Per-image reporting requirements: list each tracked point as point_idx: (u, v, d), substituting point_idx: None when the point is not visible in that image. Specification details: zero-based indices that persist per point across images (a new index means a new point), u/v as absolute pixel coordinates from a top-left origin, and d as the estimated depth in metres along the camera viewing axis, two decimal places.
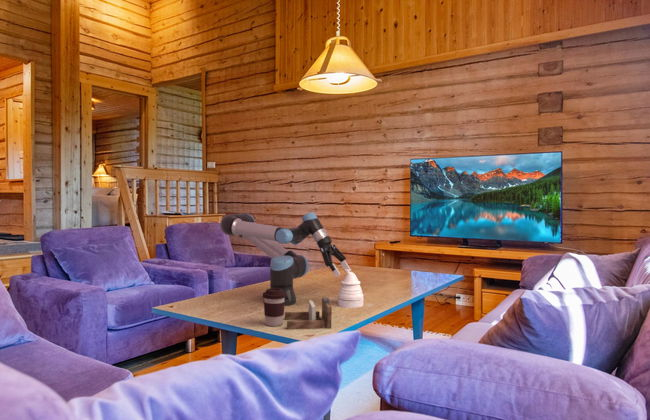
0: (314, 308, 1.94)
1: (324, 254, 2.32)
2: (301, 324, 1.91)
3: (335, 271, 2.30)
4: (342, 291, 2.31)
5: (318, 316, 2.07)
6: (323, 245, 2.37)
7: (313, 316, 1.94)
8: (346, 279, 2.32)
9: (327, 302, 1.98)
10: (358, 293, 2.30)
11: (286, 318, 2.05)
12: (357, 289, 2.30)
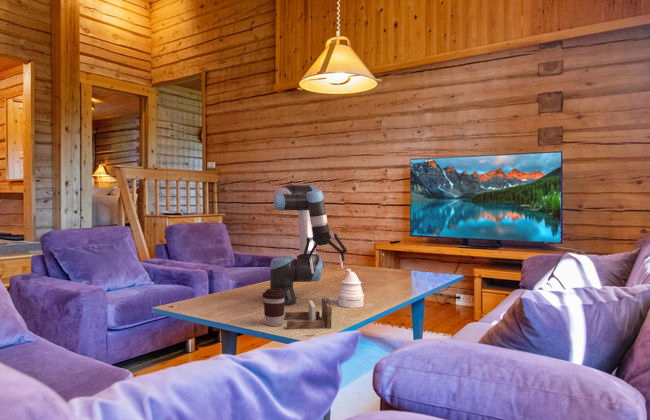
0: (314, 308, 1.94)
1: (305, 246, 2.09)
2: (301, 324, 1.91)
3: (311, 267, 2.10)
4: (342, 290, 2.31)
5: (318, 316, 2.07)
6: (313, 234, 2.08)
7: (313, 316, 1.94)
8: (347, 279, 2.31)
9: (327, 302, 1.98)
10: (358, 293, 2.29)
11: (286, 318, 2.05)
12: (357, 289, 2.30)
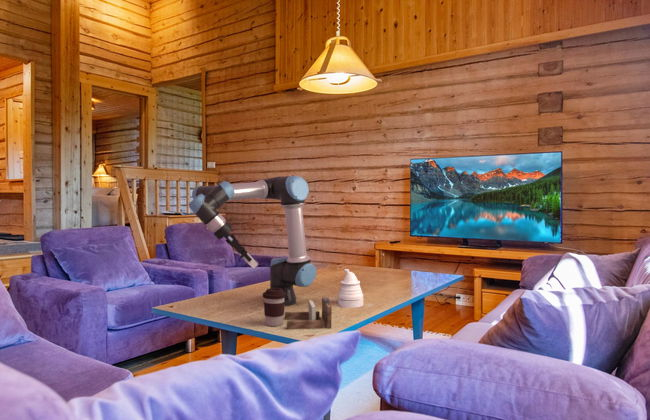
0: (314, 308, 1.94)
1: None
2: (301, 324, 1.91)
3: None
4: (341, 291, 2.31)
5: (318, 316, 2.07)
6: None
7: (313, 316, 1.94)
8: (345, 279, 2.31)
9: (327, 302, 1.98)
10: (357, 293, 2.29)
11: (286, 318, 2.05)
12: (356, 289, 2.30)
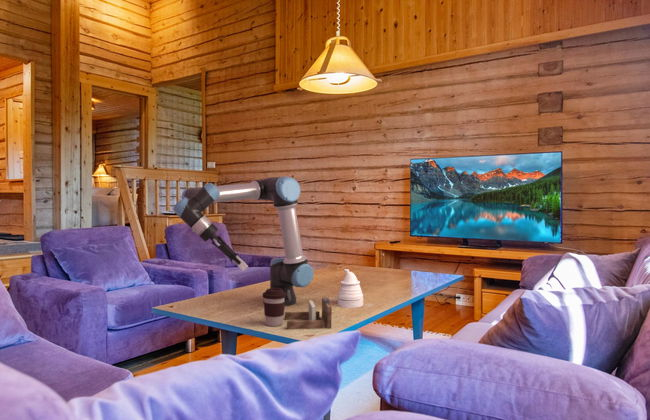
0: (314, 308, 1.94)
1: None
2: (301, 324, 1.91)
3: None
4: (341, 291, 2.31)
5: (318, 316, 2.07)
6: None
7: (313, 316, 1.94)
8: (345, 279, 2.32)
9: (327, 302, 1.98)
10: (357, 293, 2.29)
11: (286, 318, 2.05)
12: (356, 289, 2.30)
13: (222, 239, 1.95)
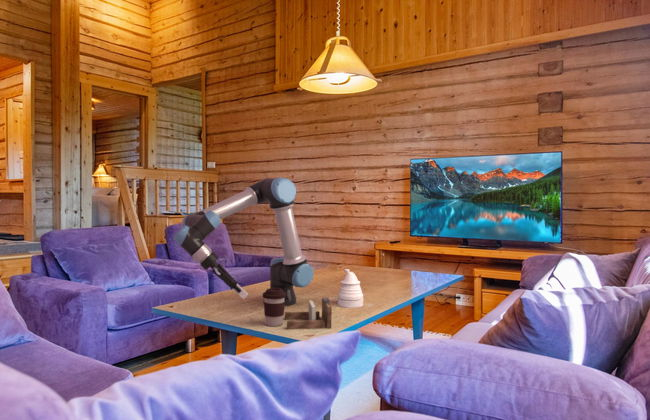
0: (314, 308, 1.94)
1: None
2: (301, 324, 1.91)
3: None
4: (341, 291, 2.31)
5: (318, 316, 2.07)
6: None
7: (313, 316, 1.94)
8: (345, 279, 2.32)
9: (327, 302, 1.98)
10: (357, 293, 2.29)
11: (286, 318, 2.05)
12: (356, 289, 2.30)
13: (222, 267, 1.95)
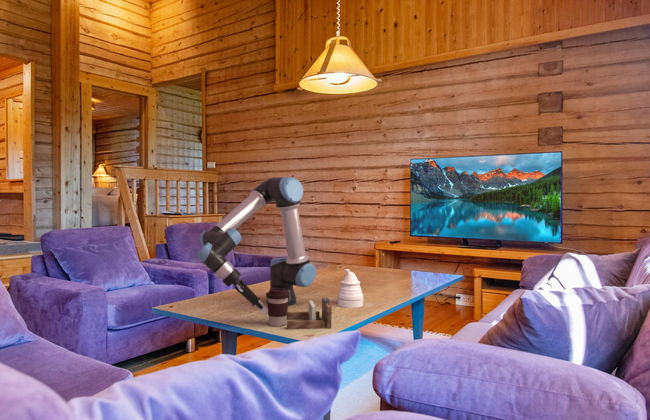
0: (314, 308, 1.94)
1: None
2: (301, 324, 1.91)
3: None
4: (341, 291, 2.31)
5: (318, 316, 2.07)
6: None
7: (313, 316, 1.94)
8: (345, 279, 2.32)
9: (327, 302, 1.98)
10: (357, 293, 2.29)
11: (286, 318, 2.05)
12: (356, 289, 2.30)
13: (244, 283, 1.96)
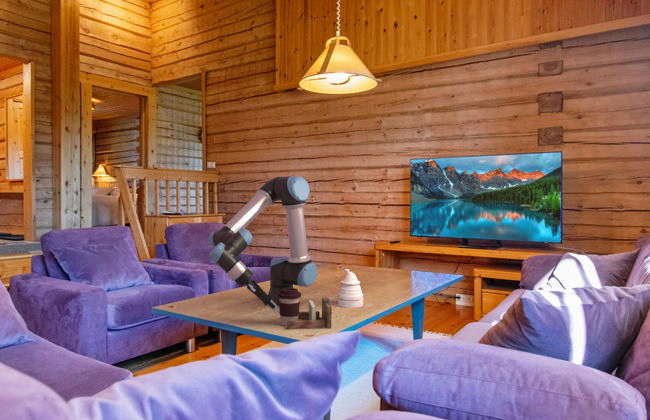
0: (314, 308, 1.94)
1: None
2: (301, 324, 1.91)
3: None
4: (341, 291, 2.31)
5: (318, 316, 2.07)
6: None
7: (313, 316, 1.94)
8: (345, 279, 2.32)
9: (327, 302, 1.98)
10: (357, 293, 2.29)
11: None
12: (356, 289, 2.30)
13: (256, 283, 1.97)
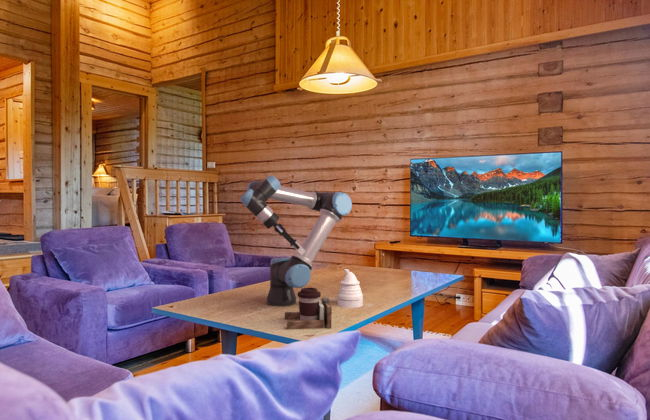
0: (322, 308, 1.94)
1: None
2: (301, 324, 1.91)
3: None
4: (341, 291, 2.31)
5: None
6: None
7: (321, 316, 1.94)
8: (345, 279, 2.32)
9: (327, 302, 1.98)
10: (356, 293, 2.29)
11: (286, 318, 2.05)
12: (355, 289, 2.29)
13: None
